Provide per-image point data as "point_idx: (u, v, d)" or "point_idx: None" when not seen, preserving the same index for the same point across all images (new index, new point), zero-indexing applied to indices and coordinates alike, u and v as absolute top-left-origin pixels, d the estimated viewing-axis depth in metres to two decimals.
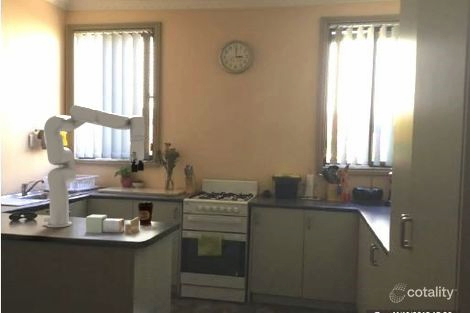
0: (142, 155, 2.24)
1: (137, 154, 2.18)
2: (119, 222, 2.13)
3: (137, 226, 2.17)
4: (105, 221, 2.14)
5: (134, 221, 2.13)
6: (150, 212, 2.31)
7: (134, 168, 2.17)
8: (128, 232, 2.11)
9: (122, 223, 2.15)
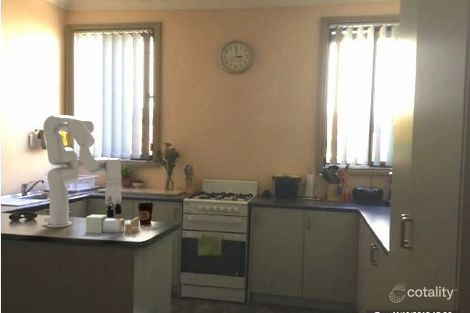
0: (119, 198, 2.16)
1: (113, 198, 2.10)
2: (119, 222, 2.13)
3: (137, 226, 2.17)
4: (105, 221, 2.14)
5: (134, 221, 2.13)
6: (150, 212, 2.31)
7: (110, 213, 2.10)
8: (128, 232, 2.11)
9: (122, 223, 2.15)
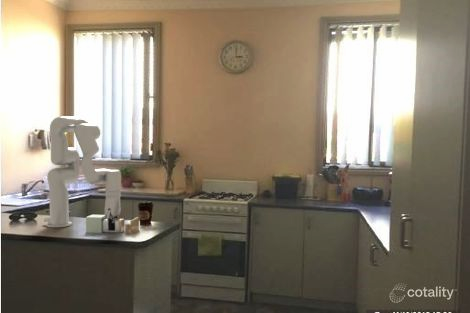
0: (118, 210, 2.17)
1: (112, 211, 2.11)
2: (119, 222, 2.13)
3: (137, 226, 2.17)
4: (105, 221, 2.14)
5: (134, 221, 2.13)
6: (150, 212, 2.31)
7: (111, 226, 2.13)
8: (128, 232, 2.11)
9: (122, 223, 2.15)
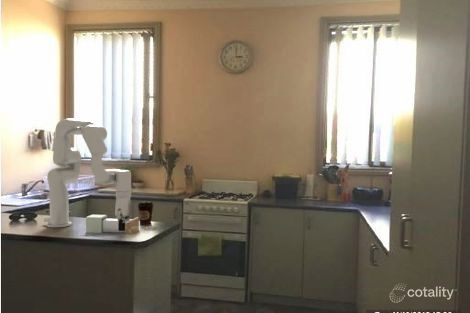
0: (128, 210, 2.16)
1: (123, 211, 2.10)
2: (129, 222, 2.13)
3: (137, 226, 2.17)
4: (115, 221, 2.14)
5: (134, 221, 2.13)
6: (150, 212, 2.31)
7: (121, 227, 2.12)
8: (128, 232, 2.11)
9: None
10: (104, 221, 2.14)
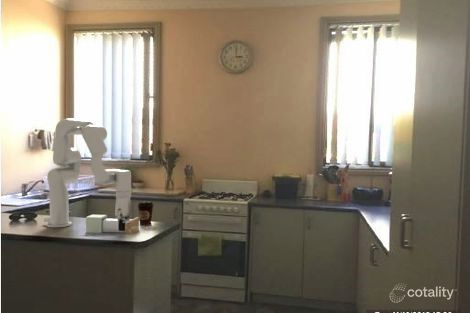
0: (128, 210, 2.16)
1: (123, 211, 2.10)
2: (129, 222, 2.13)
3: (137, 226, 2.17)
4: (115, 221, 2.14)
5: (134, 221, 2.13)
6: (150, 212, 2.31)
7: (121, 227, 2.12)
8: (128, 232, 2.11)
9: None
10: (104, 221, 2.14)
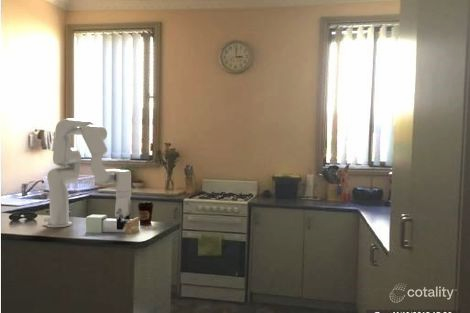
0: (128, 210, 2.16)
1: (123, 211, 2.10)
2: (129, 222, 2.13)
3: (137, 226, 2.17)
4: (115, 221, 2.14)
5: (134, 221, 2.13)
6: (150, 212, 2.31)
7: (119, 225, 2.10)
8: (128, 232, 2.11)
9: None
10: (104, 221, 2.14)
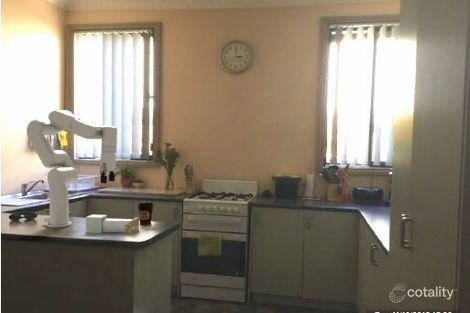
0: (113, 166, 2.21)
1: (107, 165, 2.15)
2: (129, 222, 2.13)
3: (137, 226, 2.17)
4: (115, 221, 2.14)
5: (134, 221, 2.13)
6: (150, 212, 2.31)
7: (103, 179, 2.15)
8: (128, 232, 2.11)
9: None
10: (104, 221, 2.14)
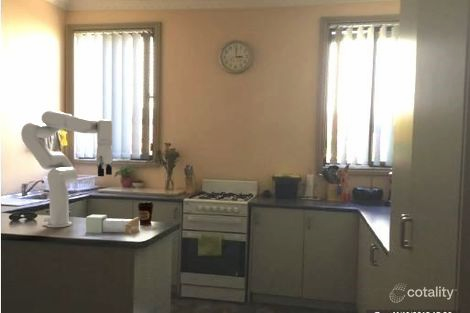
0: (109, 159, 2.22)
1: (103, 158, 2.16)
2: (129, 222, 2.13)
3: (137, 226, 2.17)
4: (115, 221, 2.14)
5: (134, 221, 2.13)
6: (150, 212, 2.31)
7: (100, 172, 2.16)
8: (128, 232, 2.11)
9: None
10: (104, 221, 2.14)
